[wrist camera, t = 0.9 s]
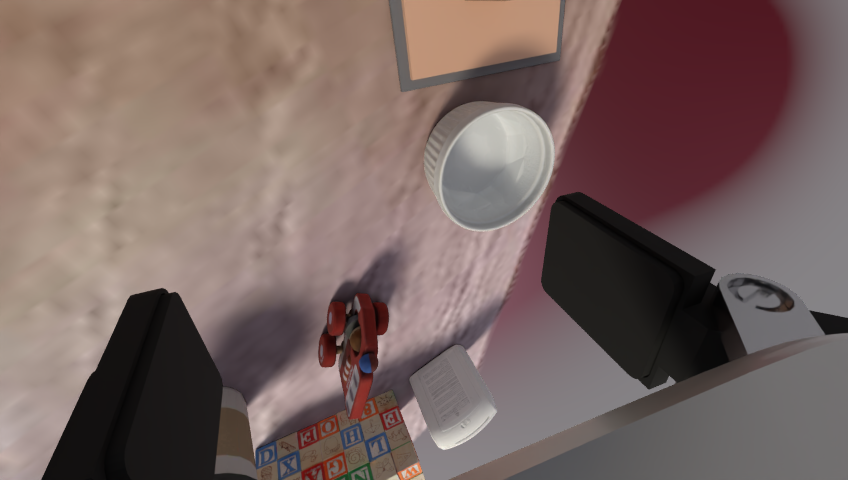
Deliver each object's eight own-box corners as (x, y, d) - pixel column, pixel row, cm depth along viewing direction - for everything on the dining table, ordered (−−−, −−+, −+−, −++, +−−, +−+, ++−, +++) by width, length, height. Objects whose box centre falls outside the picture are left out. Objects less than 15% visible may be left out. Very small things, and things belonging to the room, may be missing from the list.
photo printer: (417, 389, 62) (448, 462, 52) (403, 378, 60) (433, 453, 50) (468, 351, 62) (508, 417, 52) (456, 339, 59) (497, 406, 50)
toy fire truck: (387, 284, 49) (414, 342, 41) (363, 356, 54) (384, 420, 46) (333, 282, 46) (350, 344, 38) (313, 358, 51) (325, 428, 43)
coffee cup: (145, 432, 47) (109, 579, 35) (182, 366, 44) (156, 502, 32) (240, 438, 53) (236, 564, 41) (277, 381, 50) (285, 498, 39)
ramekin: (537, 111, 44) (578, 127, 39) (491, 213, 49) (521, 240, 44) (438, 73, 38) (470, 86, 32) (397, 194, 43) (419, 223, 37)
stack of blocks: (271, 468, 59) (275, 561, 49) (254, 448, 56) (254, 544, 46) (400, 409, 64) (427, 484, 54) (392, 387, 60) (420, 463, 50)
